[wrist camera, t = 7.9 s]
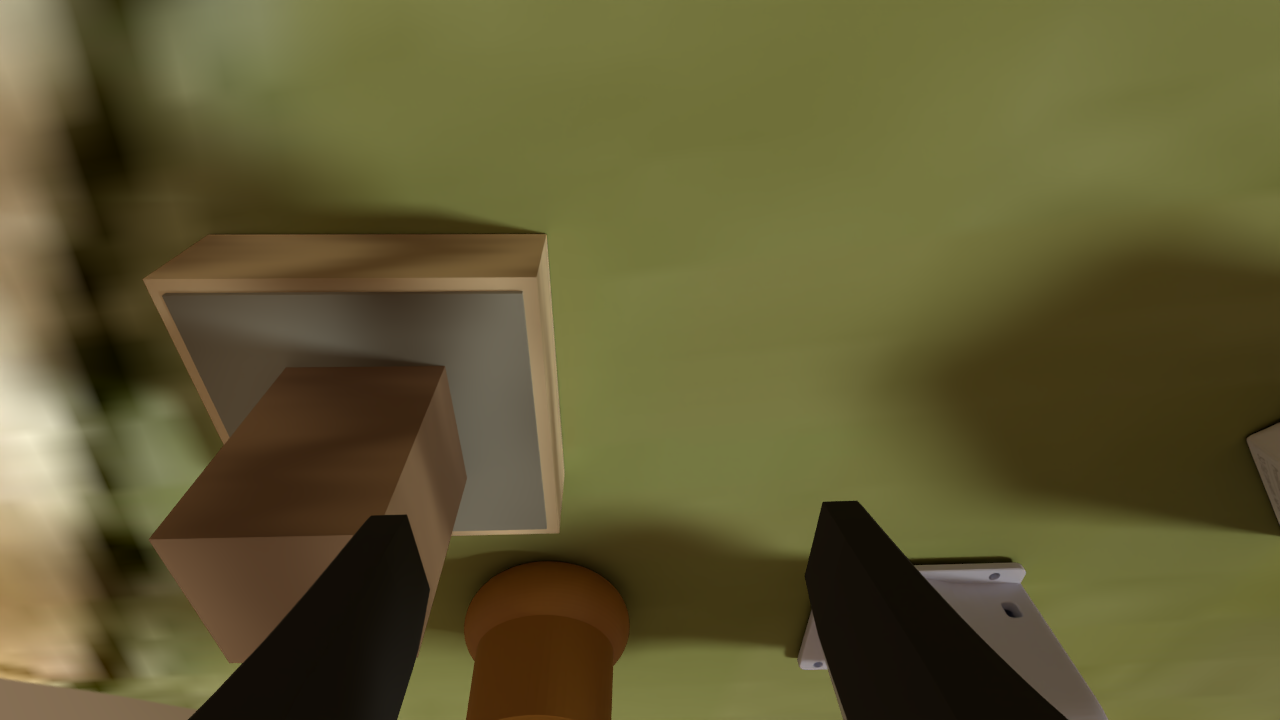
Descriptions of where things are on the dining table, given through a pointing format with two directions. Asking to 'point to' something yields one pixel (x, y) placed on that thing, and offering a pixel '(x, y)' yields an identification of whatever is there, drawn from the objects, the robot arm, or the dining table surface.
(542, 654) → the ornamental finial
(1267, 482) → the supplement box
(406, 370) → the walnut block
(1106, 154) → the dining table surface
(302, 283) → the wooden framed grey panel
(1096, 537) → the dining table surface
